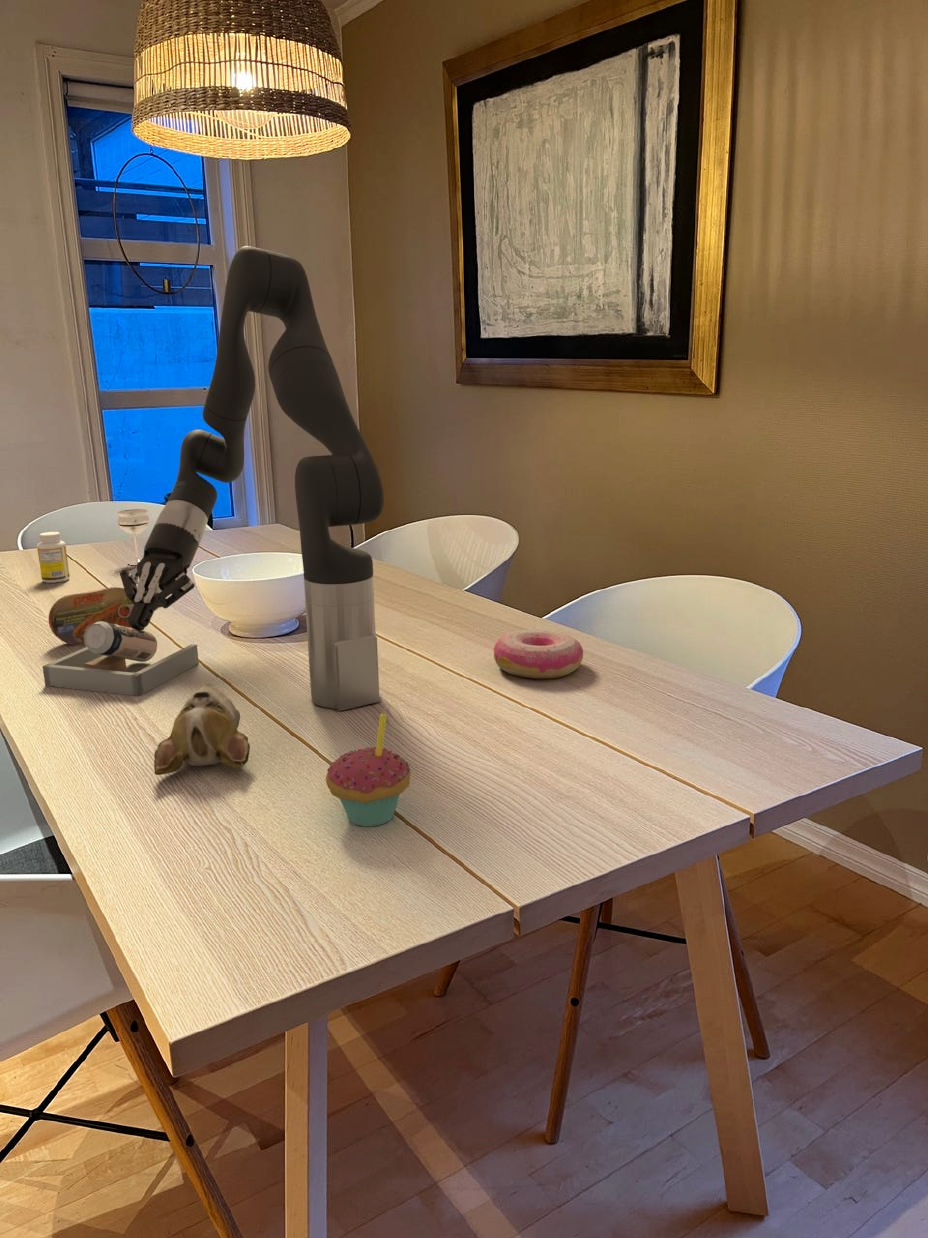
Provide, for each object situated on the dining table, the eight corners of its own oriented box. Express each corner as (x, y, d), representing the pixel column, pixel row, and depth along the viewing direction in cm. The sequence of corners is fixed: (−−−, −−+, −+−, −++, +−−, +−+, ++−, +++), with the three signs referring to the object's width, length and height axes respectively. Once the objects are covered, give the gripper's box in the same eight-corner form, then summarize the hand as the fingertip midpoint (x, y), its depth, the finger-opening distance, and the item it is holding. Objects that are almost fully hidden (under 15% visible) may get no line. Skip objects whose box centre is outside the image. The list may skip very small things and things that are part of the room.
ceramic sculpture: (250, 666, 117) (243, 717, 103) (256, 730, 120) (250, 788, 106) (161, 673, 115) (142, 725, 101) (170, 737, 118) (152, 797, 104)
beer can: (160, 631, 147) (110, 619, 136) (158, 662, 146) (107, 652, 135) (134, 632, 149) (82, 620, 137) (131, 662, 148) (79, 653, 137)
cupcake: (412, 796, 102) (408, 691, 98) (411, 835, 93) (406, 722, 90) (332, 799, 101) (325, 693, 98) (323, 838, 93) (316, 725, 90)
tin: (55, 649, 154) (48, 599, 152) (49, 645, 157) (42, 596, 154) (145, 632, 164) (140, 584, 161) (138, 628, 166) (133, 581, 164)
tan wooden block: (105, 674, 143) (103, 655, 142) (127, 677, 141) (125, 658, 140) (86, 683, 139) (84, 663, 138) (108, 686, 138) (106, 666, 137)
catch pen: (111, 654, 151) (109, 636, 150) (198, 663, 146) (197, 644, 146) (45, 685, 137) (42, 666, 136) (139, 696, 133) (136, 675, 132)
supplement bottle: (55, 576, 205) (49, 530, 203) (75, 578, 203) (69, 531, 201) (36, 582, 200) (29, 534, 197) (56, 584, 198) (50, 536, 196)
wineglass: (160, 562, 218) (154, 510, 215) (136, 567, 213) (130, 514, 210) (140, 559, 222) (134, 508, 219) (116, 564, 216) (110, 512, 213)
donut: (578, 687, 134) (579, 653, 133) (486, 682, 137) (485, 649, 135) (585, 657, 147) (586, 626, 146) (501, 653, 150) (501, 623, 148)
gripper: (130, 519, 151) (86, 611, 143) (202, 523, 147) (160, 618, 139) (153, 546, 158) (112, 635, 149) (222, 551, 154) (184, 643, 146)
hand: (135, 627), depth 144 cm, fingers closed
